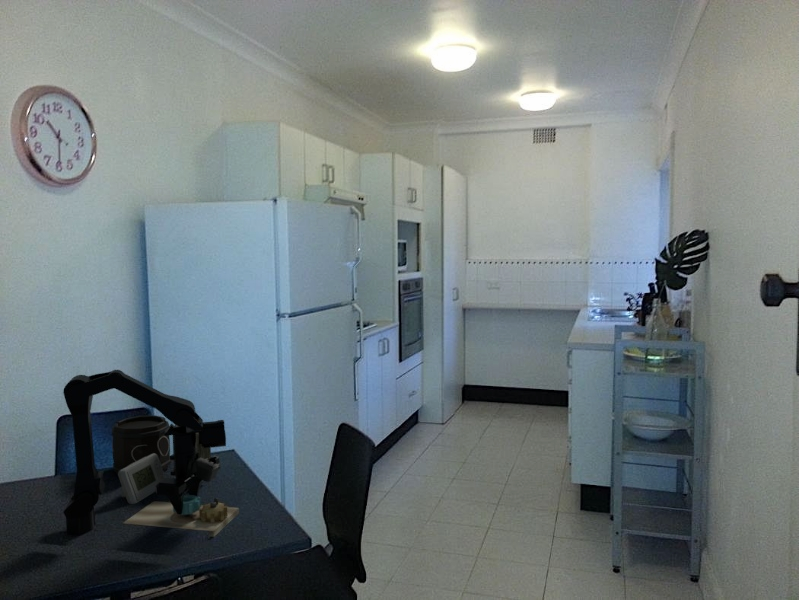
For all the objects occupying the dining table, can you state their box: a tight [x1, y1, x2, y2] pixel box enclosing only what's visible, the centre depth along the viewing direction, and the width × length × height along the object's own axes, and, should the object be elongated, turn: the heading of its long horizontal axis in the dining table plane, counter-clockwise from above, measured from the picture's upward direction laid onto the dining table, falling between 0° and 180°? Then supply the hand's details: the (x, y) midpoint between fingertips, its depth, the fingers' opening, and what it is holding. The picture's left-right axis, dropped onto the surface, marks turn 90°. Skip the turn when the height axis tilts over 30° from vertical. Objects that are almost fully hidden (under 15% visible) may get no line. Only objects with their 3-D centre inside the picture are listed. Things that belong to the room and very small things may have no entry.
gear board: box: [122, 497, 240, 538], centre depth 166 cm, size 14×25×6 cm, turn 79°
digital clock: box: [117, 453, 167, 505], centre depth 182 cm, size 16×9×11 cm, turn 154°
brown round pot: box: [110, 415, 172, 477], centre depth 204 cm, size 18×18×16 cm
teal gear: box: [173, 494, 202, 515], centre depth 166 cm, size 7×7×3 cm
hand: (187, 508), depth 166 cm, fingers closed on teal gear, 7 cm apart
